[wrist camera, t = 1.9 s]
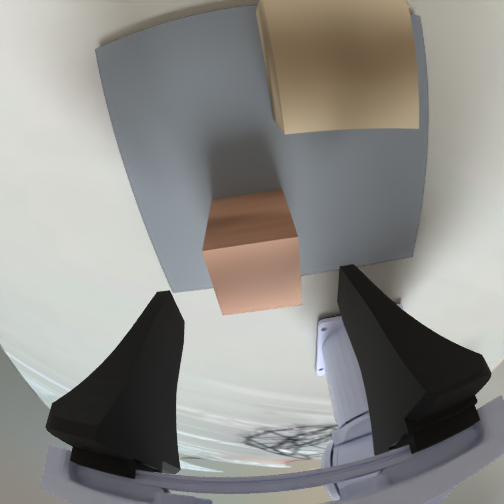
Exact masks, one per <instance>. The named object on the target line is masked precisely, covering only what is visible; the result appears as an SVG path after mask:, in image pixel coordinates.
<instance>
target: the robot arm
mask: <svg viewBox="0 0 504 504" xmlns="http://www.w3.org/2000/svg"><path fill="white" fill-rule="evenodd" d="M337 302H338V305H339V309H340V313H341V316H337V317H332V318H326V319H322V320H320V321H319V322H318V333H317V357H316V375H317V376H322V375H326V379H327V383H328V388H329V393H330V397H331V402H332V407H333V412H334V417H335V420H336V422H337V424H338V428H339V429H338V430H336V431H333V432H332V436H333V441H332V442H330V443H329V444H328V445H327V447H326V449H325V452H324V454H323V457H322V463H321V469H316V470H311V471H304V472H297V473H289V474H280V475H270V476H257V477H256V476H255V477H195V476H181V475H171V474H176V473H177V472H179V471H180V462H179V454H178V445H177V431H176V392H177V382H178V376H179V369H180V363H181V357H182V351H183V344H184V322H185V321H184V319H183V317H182V315H181V313H180V311H179V309H178V307H177V305H176V303H175V301H174V298H173V296H172V294H171V292H170V291H161V292H157V293H156V294H155V296H154V297H153V298H152V300H151V301H150V303H149V304H148V305H147V307H146V308H145V310H144V311H143V313H142V314H141V315H140V317H139V318H138V320H137V321H136V322H135V324H134V325H133V327H132V328H131V329H130V331H129V332H128V333H127V334H126V336H125V337H124V338H123V340H122V341H121V342H120V343H119V345H118V346H117V347H116V348H115V350H114V351H113V352H112V353H111V354H110V355H109V356H108V357H107V358H106V360H105V361H104V362H103V363H102V364H101V365H100V366H99V367H98V368H97V369H96V370H94V371H93V372H92V373H91V374H90V375H89V376H88V377H87V378H86V379H85V380H84V381H82V382H81V383H80V384H79V385H78V386H76V387H75V388H74V389H72V390H71V391H70V392H68V393H67V394H66V395H64V396H63V397H61V398H60V399H58V400H57V401H55V402H53V403H52V406H51V409H50V413H49V417H48V420H47V424H46V429H47V431H48V432H50V433H51V434H52V435H54V436H55V437H57V438H59V439H60V440H62V441H64V442H66V443H67V444H69V445H71V446H72V447H73V448H72V452H71V451H69V450H66V449H64V448H61V447H58V446H55V445H52V444H49V445H48V450H47V454H46V459H45V464H44V470H43V476H42V482H41V488H42V489H44V490H46V491H48V492H50V493H52V494H54V495H56V496H58V497H60V498H62V499H64V500H66V501H68V502H70V503H72V504H212V500H209V499H201V498H196V497H193V496H185V495H177V494H171V492H170V491H169V490H174V491H183V492H195V493H214V494H249V493H267V492H278V491H289V490H297V489H304V488H311V487H316V486H322V485H324V486H325V489H326V491H327V492H328V494H329V495H330V497H331V498H333V499H334V501H331V502H327V503H321V504H441V503H442V502H443V501H444V500H445V498H446V497H447V496H448V495H449V494H450V493H451V491H452V490H453V489H454V488H455V487H456V486H458V485H459V484H461V483H463V482H464V481H466V480H467V479H469V478H470V477H472V476H473V475H475V474H476V473H478V472H479V471H480V470H482V469H484V468H485V467H486V466H488V465H489V464H490V463H492V462H493V461H495V460H496V459H497V458H499V457H500V456H501V455H502V454H504V400H503V398H502V396H498V397H497V398H495V399H493V400H492V401H490V402H488V403H487V404H485V405H484V406H482V407H481V408H479V409H478V410H476V407H475V404H476V403H477V399H476V396H475V394H477V392H479V390H481V388H482V387H483V386H484V385H485V384H486V383H487V382H488V381H489V379H490V377H491V371H490V369H489V367H488V365H487V363H486V361H485V359H484V358H483V356H482V355H481V354H479V353H476V352H474V351H471V350H469V349H466V348H464V347H462V346H460V345H458V344H456V343H454V342H452V341H450V340H448V339H446V338H444V337H442V336H440V335H439V334H437V333H435V332H434V331H432V330H431V329H429V328H427V327H426V326H424V325H423V324H421V323H420V322H418V321H417V320H416V319H414V318H413V317H411V316H410V315H409V314H407V313H406V312H405V311H404V310H402V309H403V307H402V305H401V304H395V303H394V302H393V301H392V300H391V299H390V298H388V297H387V296H386V295H385V294H384V293H383V292H382V291H381V290H380V289H379V288H378V287H377V286H375V285H374V284H373V283H372V282H371V281H370V280H369V279H368V278H367V277H366V276H365V275H364V274H363V273H362V272H361V271H360V270H359V269H358V268H357V267H356V266H355V265H354V264H350V265H345V266H340V269H339V285H338V298H337ZM154 472H157V473H154ZM162 473H167V474H162Z"/></svg>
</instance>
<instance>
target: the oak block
mask: <svg viewBox="0 0 504 504" xmlns="http://www.w3.org/2000/svg"><path fill="white" fill-rule="evenodd" d="M256 17H257V23H258V28H259V34H260V39H261V45H262V50H263V56H264V62H265V68H266V74H267V81H268V87H269V94H270V100H271V107H272V114H273V120H274V121H275V123H276V124H277V125H278V126H279V128H280V129H281V130H282V132H283V133H284V134H285V135H286V134H295V133H305V132H316V131H329V130H346V129H374V128H406V129H419V89H418V72H417V61H416V51H415V43H414V35H413V29H412V23H411V17H410V12H409V6H408V2H407V1H406V0H259V1H258V5H257V9H256Z"/></svg>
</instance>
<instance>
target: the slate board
mask: <svg viewBox="0 0 504 504" xmlns="http://www.w3.org/2000/svg"><path fill="white" fill-rule="evenodd" d="M256 9H257V5H249V6H241V7H234V8H227V9H221V10H216V11H211V12H206V13H201V14H196V15H192V16H188V17H184V18H180V19H176V20H173V21H169V22H166V23H162V24H159V25H156V26H153V27H150V28H147V29H144V30H141V31H138V32H136V33H133V34H130V35H128V36H125V37H122V38H120V39H118V40H115V41H113V42H110V43H108V44H106V45H104V46H101V47H99V48H97V49H95V52H96V57H97V62H98V67H99V72H100V77H101V82H102V86H103V90H104V95H105V99H106V103H107V107H108V111H109V115H110V119H111V122H112V126H113V130H114V133H115V137H116V140H117V144H118V147H119V151H120V154H121V157H122V160H123V164H124V167H125V170H126V173H127V176H128V179H129V182H130V185H131V188H132V191H133V194H134V197H135V200H136V202H137V205H138V208H139V211H140V214H141V216H142V219H143V222H144V224H145V227H146V230H147V232H148V235H149V237H150V240H151V242H152V245H153V247H154V250H155V252H156V255H157V257H158V260H159V262H160V265H161V267H162V269H163V272H164V274H165V276H166V279H167V281H168V283H169V285H170V288H171V290H172V292H173V293H177V292H185V291H193V290H202V289H210V288H214V287H213V284H212V281H211V278H210V275H209V272H208V269H207V266H206V263H205V259H204V256H203V253H202V248H203V243H204V238H205V233H206V227H207V222H208V217H209V213H210V208H211V203H212V200H217V199H223V198H229V197H235V196H241V195H247V194H254V193H260V192H267V191H274V190H281V189H282V190H283V193H284V196H285V199H286V202H287V204H288V207H289V210H290V213H291V216H292V219H293V222H294V225H295V228H296V232H297V235H298V241H299V255H300V272H301V276H302V275H309V274H315V273H321V272H328V271H334V270H339V269H340V266H345V265H350V264H354V265H355V266H356V267H358V266H364V265H369V264H375V263H381V262H386V261H392V260H397V259H403V258H408V257H412V256H413V251H414V246H415V241H416V236H417V231H418V225H419V219H420V213H421V207H422V200H423V192H424V183H425V174H426V162H427V147H428V80H427V65H426V55H425V46H424V38H423V31H422V25H421V19H420V16H417V15H413V14H410V17H411V23H412V29H413V35H414V43H415V51H416V61H417V72H418V89H419V129H406V128H374V129H346V130H329V131H316V132H305V133H295V134H286V135H285V134H284V133H283V132H282V130H281V129H280V128H279V126H278V125H277V124H276V123H275V121H274V120H273V114H272V107H271V100H270V94H269V87H268V81H267V74H266V68H265V62H264V56H263V50H262V45H261V39H260V34H259V28H258V23H257V17H256Z"/></svg>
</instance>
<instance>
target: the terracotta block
mask: <svg viewBox="0 0 504 504" xmlns="http://www.w3.org/2000/svg"><path fill="white" fill-rule="evenodd" d="M202 253H203V256H204V259H205V263H206V266H207V269H208V272H209V275H210V278H211V281H212V284H213V287H214V291H215V294H216V297H217V300H218V303H219V306H220V309H221V312H222V314H223V315H230V314H238V313H246V312H254V311H261V310H269V309H276V308H283V307H289V306H296V305H302V290H301V272H300V255H299V241H298V235H297V232H296V228H295V225H294V222H293V219H292V216H291V213H290V210H289V207H288V204H287V202H286V199H285V196H284V193H283V190H282V189H281V190H274V191H267V192H260V193H254V194H247V195H241V196H235V197H229V198H223V199H217V200H212V203H211V208H210V213H209V217H208V222H207V227H206V233H205V238H204V243H203V248H202Z"/></svg>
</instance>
